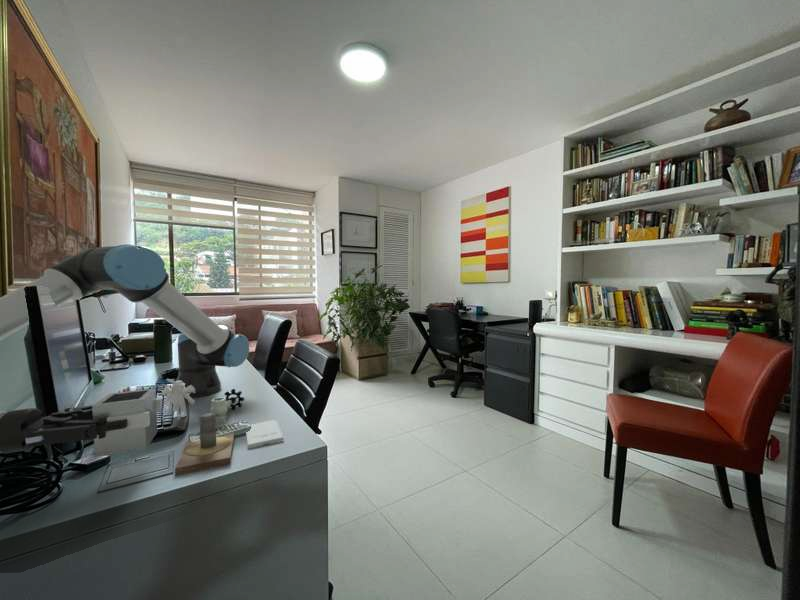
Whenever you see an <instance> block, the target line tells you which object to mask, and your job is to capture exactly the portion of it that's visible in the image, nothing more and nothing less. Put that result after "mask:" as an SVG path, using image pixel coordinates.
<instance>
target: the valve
mask: <svg viewBox="0 0 800 600" xmlns="http://www.w3.org/2000/svg"><path fill="white" fill-rule="evenodd" d="M236 391H237V390H236V389H235V388H233V389H231V390H230V391H226V392H224V396H225V397H224V396H223V397H221V396H220V397H219V396H218V397H216V398H215V397H214V398H213V399H211V400H210V404H211V405H210V406H211V408H210V413H215V414H216V425H218V424H223V423H225V422H226V421H227V420H228V419H227V418H228V417H227V413H228V411H229V409H230V407H231V411H234V410H236V407H238V408H241V407H243V403H242V402H244V401H245V397H244V396H241V395H242V394H243V392H242V391H241V390H240V391H238V392H236ZM233 395H234V396H233ZM230 396H231V397H230ZM237 400H238V401H237ZM236 401H237V402H236ZM234 403H235V404H234Z"/></svg>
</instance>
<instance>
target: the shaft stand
mask: <svg viewBox="0 0 800 600" xmlns="http://www.w3.org/2000/svg"><path fill="white" fill-rule="evenodd" d="M216 432H217V424H216V414H215V413H211V412H208V413H204V414H201V415H200V416H199V435H200V440H199V441H197V442H194V443H192V442H190V436H189V437H188V440H187V441H186V443H185V446H184V448H183V450H182V452H181V455H180V457H179V458H178V461H177V463H176V465H175V468H174V475H175V476H179V475H183V474H189V473H193V472H194V473H196V472H198V471H203V470H208V469H213V468H219V467H223V466H228V465H231V463H232V456H233V450H234V442H235V437H234V433H231V434H227V435H224V436H221V437H216Z"/></svg>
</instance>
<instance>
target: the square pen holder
mask: <svg viewBox="0 0 800 600" xmlns="http://www.w3.org/2000/svg"><path fill="white" fill-rule="evenodd" d="M118 392H119V391H118ZM118 392H112V393H108V394H107V395H106V396H104V397H103V398H102V399H100V400H98V401H97V402H96V403H95V404H92V405H93V406H92V410H93V420H105V422H107V418H108V417H114V416H122V415H129V414H136V413H143V412H149V414H150V425H149V426H147V427H140V428H133V429H127V430H120V431H114V432H107V431H106V437H105V438H102V439H99V435H97V438H95V439H93V445H94V446H93V447H94V458H97V457H103V456H109V455H115V454H120V453H121V454H122V453H126V452H132V451H139V450H143V449H147V447H148V446H149V445H150V443H151V442H152V441H153V439H154V437H155V436H156V435H157V434H158V419H157V417H158V416H157V413H158V412H156V399H157V395H156V393H157V391H156V388H147V389H137V390H131V391H128V392H122V391H120V392H119V393H118Z"/></svg>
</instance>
